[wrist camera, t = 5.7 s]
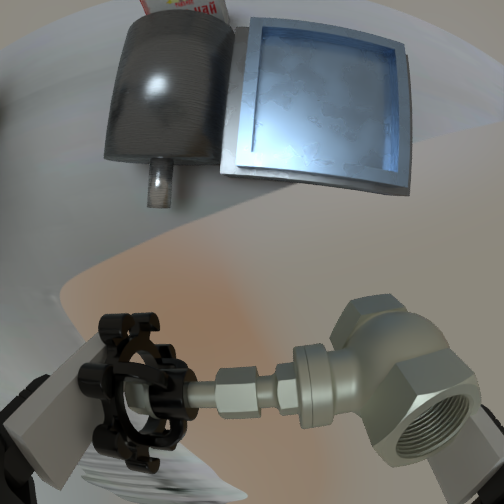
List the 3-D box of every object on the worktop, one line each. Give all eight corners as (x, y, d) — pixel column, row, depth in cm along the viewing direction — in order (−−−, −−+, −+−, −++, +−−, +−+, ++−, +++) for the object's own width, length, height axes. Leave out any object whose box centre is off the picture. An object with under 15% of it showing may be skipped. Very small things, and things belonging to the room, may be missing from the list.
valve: (411, 252, 11) (138, 285, 12) (518, 308, 4) (44, 364, 5) (400, 375, 12) (174, 400, 13) (455, 464, 6) (135, 499, 7)
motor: (133, 202, 28) (76, 209, 18) (152, 56, 24) (111, 14, 14) (384, 224, 26) (435, 240, 17) (389, 72, 23) (431, 33, 13)
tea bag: (170, 26, 23) (138, -21, 13) (228, 15, 23) (213, -40, 13) (169, 49, 24) (133, 4, 14) (229, 39, 23) (213, -16, 14)
